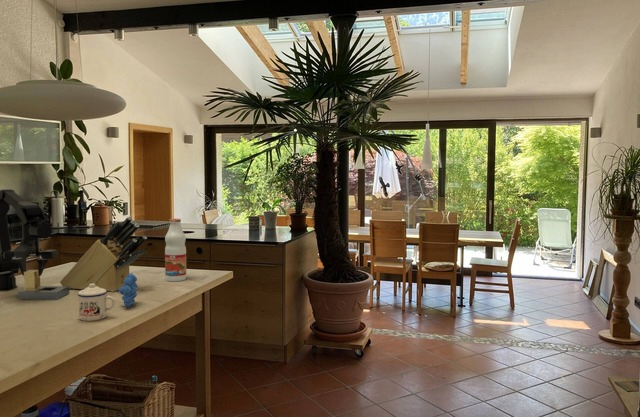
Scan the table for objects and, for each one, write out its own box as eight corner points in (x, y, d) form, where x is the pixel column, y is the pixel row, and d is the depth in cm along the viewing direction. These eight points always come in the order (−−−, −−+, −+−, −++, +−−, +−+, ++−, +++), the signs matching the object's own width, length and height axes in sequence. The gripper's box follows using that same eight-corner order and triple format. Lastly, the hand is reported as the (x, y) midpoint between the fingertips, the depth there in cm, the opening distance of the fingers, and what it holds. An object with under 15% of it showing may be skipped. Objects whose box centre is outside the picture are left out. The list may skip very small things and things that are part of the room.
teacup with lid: (74, 321, 170) (73, 287, 169) (84, 313, 179) (83, 281, 178) (111, 321, 171) (110, 286, 170) (119, 313, 180) (118, 280, 179)
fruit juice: (189, 277, 239) (189, 218, 236) (181, 282, 229) (180, 220, 227) (170, 276, 240) (169, 217, 238) (161, 281, 231) (160, 219, 228)
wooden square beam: (24, 289, 200) (23, 271, 199) (30, 287, 204) (29, 269, 203) (34, 289, 200) (34, 272, 199) (40, 287, 204) (39, 269, 203)
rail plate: (18, 299, 197) (18, 291, 197) (32, 293, 207) (32, 285, 207) (57, 299, 197) (57, 291, 197) (69, 293, 207) (69, 285, 207)
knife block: (135, 293, 207) (133, 218, 205) (59, 289, 214) (57, 216, 212) (149, 287, 218) (148, 215, 216) (77, 283, 225) (75, 213, 223)
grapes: (123, 301, 195) (123, 270, 194) (141, 301, 196) (141, 270, 195) (113, 310, 184) (112, 277, 183) (132, 309, 184) (131, 277, 183)
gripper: (-6, 239, 192) (-5, 280, 193) (43, 239, 192) (45, 280, 193) (11, 235, 203) (12, 273, 204) (58, 235, 203) (59, 274, 204)
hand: (32, 275), depth 201 cm, fingers open, 6 cm apart
